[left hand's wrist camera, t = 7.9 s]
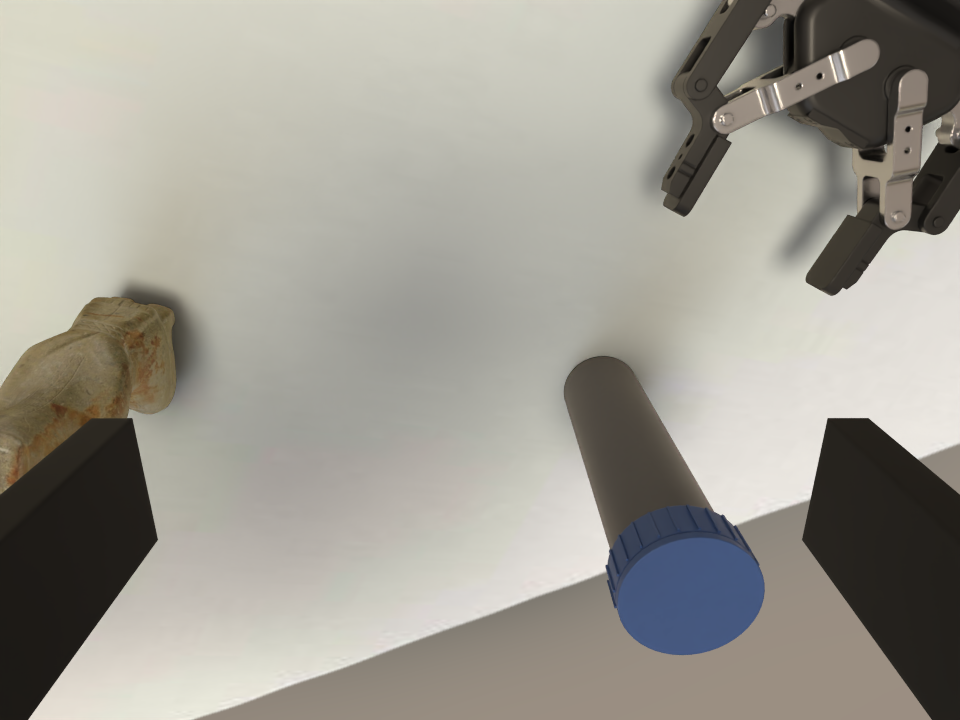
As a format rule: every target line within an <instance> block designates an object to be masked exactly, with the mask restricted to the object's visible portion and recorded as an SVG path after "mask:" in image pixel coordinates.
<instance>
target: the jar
mask: <svg viewBox="0 0 960 720" xmlns="http://www.w3.org/2000/svg"><path fill="white" fill-rule="evenodd" d="M564 398H565V402H566V405H567V409H568V412H569V415H570V419H571V422H572V425H573V428H574V432H575V435H576V438H577V442H578V445H579V448H580V451H581V455H582V458H583V461H584V465H585V468H586V471H587V474H588V478H589V481H590V484H591V488H592V491H593V494H594V497H595V501H596V504H597V507H598V511H599V514H600V517H601V520H602V524H603V527H604V530H605V534H606V537H607V540H608V544H609V547H610V549H612V547H613V545H614V543H615V541H616V540H617V538H618V537H617V536H618V535H620V534H621V533H622V532H623V531H624V530H625V528H627V527H628V526H629V525H630V524H631V522H632V521H633V522H634V521H635V520H637V519H638V518H640V517H641V516H643V515H645V514H647V513H648V512H652V511H655V510H657V509H661V508H665V507H666V506H669V507H671V506H678V505H679V506H680V505H689V506H696V507H701V508H705V507H706V508H708V509H709V510H711V511H713V509H712V507H711V506H710V504H709V502H708V500H707V499H706V497H705V495H704V494H703V492H702V490H701V488H700V487H699V485H698V483H697V481H696V480H695V478H694V476H693V475H692V473H691V471H690V469H689V468H688V466H687V464H686V463H685V461H684V459H683V457H682V456H681V454H680V452H679V450H678V449H677V447H676V445H675V444H674V442H673V440H672V438H671V437H670V435H669V433H668V431H667V430H666V428H665V426H664V425H663V423H662V421H661V419H660V418H659V416H658V414H657V413H656V411H655V409H654V407H653V406H652V404H651V402H650V400H649V399H648V397H647V395H646V394H645V392H644V390H643V388H642V387H641V385H640V383H639V381H638V380H637V378H636V376H635V375H634V373H633V371H632V370H631V369H630V367H629V366H627V365H626V364H625V363H624V362H622V361H620V360H618V359H615V358H611V357H595V358H591V359H588V360H586V361H584V362H582V363H580V364H579V365H578V366H577V367H575V368H574V369H573V371H572V372H571V373H570V375H569V376H568V378H567V380H566V383H565V387H564ZM713 512H714V511H713Z"/></svg>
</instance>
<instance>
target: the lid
mask: <svg viewBox="0 0 960 720" xmlns="http://www.w3.org/2000/svg"><path fill="white" fill-rule="evenodd" d="M617 537H618V538H617V540H616V541H615V543H614V545H613V547H612V549H610V550H609V553H610V555H609V559H608V565H606V570H607V574H608V578H609V580H607V582H608V586H609V590H610V593H611V597H612V600H613V604H614V608H617V610H618V614H619V617H620V620H621V622H622V624H623V626H624V628H625V629H626V630H627V632H628V633H629V634H630V635H631V636H632V637H633V638H634V639H635V640H637V641H638V642H639V643H641V644H642V645H644V646H646V647H648V648H650V649H652V650H655V651H658V652H662V653H666V654H673V655H692V654H698V653H703V652H707V651H711V650H713V649H716V648H719V647H721V646H723V645H725V644H727V643H729V642H730V641H732V640H734V639H735V638H737V637H738V636H739V635H740V634H742V633H743V632H744V631H745V630H746V629H747V628H748V627H749V626H750V625H751V623H752V622H753V621H754V619H755V618H756V616H757V615H758V613H759V611H760V608H761V606H762V603H763V599H764V591H765V590H764V579H763V575H762V572H761V570H760V568H759V563H758V561H757V560H756V558H755V556H754V555H753V553H752V551H751V549H750V547H749V546H748V544H747V543H746V541H745V539H744V538H743V536H742V534H741V533H740V531H739V530H738V528H737V526H736V525H735V526H733V525H732V524H731V523H730V522H729V521H728V520H727V519H726V518H725V516H724V515H719V514H717V513H715V512H713V511H711V510H709V509H708V508H706V507H705V508H701V507H696V506H689V505H680V506H679V505H678V506H671V507H669V506H666V507H665V508H661V509H657V510H655V511H652V512H648V513H647V514H645V515H643V516H641V517H640V518H638V519H637V520H635V521H634V522H633V521H632V522H631V524H630V525H629V526H628V527H627V528H625V530H624V531H623V532H622V533H621V534H620V535H618V536H617Z"/></svg>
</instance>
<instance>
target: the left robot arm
mask: <svg viewBox="0 0 960 720" xmlns="http://www.w3.org/2000/svg"><path fill="white" fill-rule="evenodd" d="M157 540H158V538H157V533H156V529H155V524H154V519H153V514H152V510H151V505H150V500H149V495H148V491H147V486H146V481H145V476H144V472H143V467H142V462H141V457H140V453H139V448H138V443H137V438H136V434H135V429H134V424H133V419H132V418H91V419H90V420H89V421H88V422H87V423H85V424H84V425H83V426H82V427H81V428H79V429H78V430H77V431H76V432H75V433H73V434H72V435H71V436H70V437H69V438H67V439H66V440H65V441H64V442H63V443H61V444H60V445H59V446H58V447H57V448H56V449H54V450H53V451H52V452H51V453H50V454H48V455H47V456H46V457H45V458H44V459H42V460H41V461H40V462H39V463H38V464H36V465H35V466H34V467H33V468H32V469H30V470H29V471H28V472H27V473H26V474H24V475H23V476H22V477H21V478H20V479H18V480H17V481H16V482H15V483H14V484H12V485H11V486H10V487H9V488H8V489H6V490H5V491H4V492H3V493H2V494H0V720H28V719H29V718H30V716H31V715H32V713H33V712H34V711H35V709H36V708H37V707H38V705H39V704H40V702H41V701H42V700H43V698H44V697H45V695H46V694H47V693H48V691H49V690H50V689H51V687H52V686H53V684H54V683H55V682H56V680H57V679H58V677H59V676H60V675H61V673H62V672H63V671H64V669H65V668H66V666H67V665H68V664H69V662H70V661H71V659H72V658H73V657H74V655H75V654H76V653H77V651H78V650H79V648H80V647H81V646H82V644H83V643H84V641H85V640H86V639H87V637H88V636H89V635H90V633H91V632H92V630H93V629H94V628H95V626H96V625H97V623H98V622H99V621H100V619H101V618H102V617H103V615H104V614H105V612H106V611H107V610H108V608H109V607H110V605H111V604H112V603H113V601H114V600H115V599H116V597H117V596H118V594H119V593H120V592H121V590H122V589H123V587H124V586H125V585H126V583H127V582H128V581H129V579H130V578H131V576H132V575H133V574H134V572H135V571H136V569H137V568H138V567H139V565H140V564H141V563H142V561H143V560H144V558H145V557H146V556H147V554H148V553H149V551H150V550H151V549H152V547H153V546H154V545H155V543H156V542H157ZM802 540H803V542H804V543H805V545H806V546H807V547H808V549H809V550H810V551H811V553H812V554H813V556H814V557H815V558H816V560H817V561H818V563H819V564H820V565H821V567H822V568H823V569H824V571H825V572H826V574H827V575H828V576H829V578H830V579H831V580H832V582H833V583H834V585H835V586H836V587H837V589H838V590H839V591H840V593H841V594H842V596H843V597H844V599H845V600H846V601H847V603H848V604H849V605H850V607H851V608H852V609H853V611H854V612H855V614H856V615H857V616H858V618H859V619H860V621H861V622H862V623H863V625H864V626H865V628H866V629H867V630H868V632H869V633H870V634H871V636H872V637H873V639H874V640H875V641H876V643H877V644H878V646H879V647H880V648H881V650H882V651H883V653H884V654H885V655H886V657H887V658H888V659H889V661H890V662H891V664H892V665H893V666H894V668H895V669H896V670H897V672H898V673H899V675H900V676H901V677H902V679H903V680H904V682H905V683H906V684H907V686H908V687H909V689H910V690H911V691H912V693H913V694H914V695H915V697H916V698H917V700H918V701H919V702H920V704H921V705H922V707H923V708H924V709H925V711H926V712H927V713H928V715H929V716H930V718H931V719H932V720H960V494H958V493H957V492H956V491H955V490H953V489H952V488H951V487H950V486H949V485H948V484H946V483H945V482H944V481H943V480H942V479H940V478H939V477H938V476H937V475H936V474H934V473H933V472H932V471H931V470H930V469H928V468H927V467H926V466H925V465H924V464H922V463H921V462H920V461H919V460H918V459H916V458H915V457H914V456H913V455H912V454H910V453H909V452H908V451H907V450H906V449H904V448H903V447H902V446H901V445H900V444H899V443H897V442H896V441H895V440H894V439H893V438H891V437H890V436H889V435H888V434H887V433H885V432H884V431H883V430H882V429H881V428H879V427H878V426H877V425H876V424H875V423H873V422H872V421H871V420H870V419H869V418H828V419H827V424H826V429H825V434H824V438H823V443H822V448H821V453H820V457H819V462H818V467H817V472H816V476H815V481H814V486H813V491H812V495H811V500H810V505H809V510H808V514H807V519H806V524H805V529H804V534H803V538H802Z"/></svg>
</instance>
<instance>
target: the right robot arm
mask: <svg viewBox="0 0 960 720" xmlns="http://www.w3.org/2000/svg"><path fill="white" fill-rule="evenodd" d="M778 17H784V18H785V20H784V26H783V65H781V66H779V67H777V68H775V69H773V70H771V71H769V72H767V73H765V74H763V75H761V76H759V77H757V78H755V79H753V80H751V81H749V82H747V83H745V84H743V85H741V86H740V87H739V88H738V89H736V90H734V91H732V92H730V93H728V94H726V95H723V94H722V93H721V91H720V90H719V89H718V87H717V84H718V83H719V81H720V80H721V78H722V76H723V75H724V73H725V72H726V70H727V69H728V67H729V66H730V64H731V63H732V61H733V60H734V58H735V56H736V55H737V53H738V52H739V50H740V49H741V47H742V46H743V44H744V43H745V41H746V40H747V38H748V37H749V35H750V33H751V32H752V30H758V29H762V28H766V27H768V26H770V25H771V24H772V23H773V22H774V21H775V20H776V19H777V18H778ZM671 91H672V93H673V95H674V96H675V97H676V98H677V99H680V100H681V101H682V103H683V104H684V105H685V107H686V108H687V109H688V110H689V112H690V113H691V115H692V120H693V124H692V128H691V131H690V133H689V134H688V136H687V138H686V140H685V141H684V143H683V145H682V146H681V148H680V150H679V152H678V153H677V155H676V157H675V159H674V160H673V162H672V164H671V165H670V168H669V169H668V171H667V172H666V174H665V176H664V178H663V182H662V188H661V190H663V191H665V192H667V193H668V194H667V195H666V197H665V199H664V203H663V205H664V206H665V207H666V208H668V209H670V210H672V211H674V212H676V213H677V214H679V215H681V216H683V217H685V216H686V215H688V214H689V212H690V211H691V210H692V208H693V206H694V205H695V203H696V201H697V200H698V198H699V196H700V195H701V193H702V192H703V190H704V188H705V187H706V185H707V183H708V182H709V180H710V178H711V177H712V175H713V173H714V172H715V170H716V168H717V167H718V165H719V163H720V162H721V160H722V158H723V157H724V155H725V153H726V152H727V150H728V148H729V147H730V145H731V142H730V141H728V140H726V138H727V137H728V135H729V133H731V132H733V131H735V130H737V129H739V128H742V127H744V126H746V125H748V124H750V123H752V122H754V121H756V120H758V119H760V118H762V117H764V116H766V115H769V114H772V113H776V112H779V111H781V110H784V109H786V108H787V109H788V111H789V114H788V116H789V117H791V118H793V119H794V120H796V121H798V122H799V123H802V124H806V125H811V126H815V127H818V128H819V130H820V131H821V132H822V133H823V134H824V135H825V136H826V137H827V138H828V139H829V140H831V141H832V142H834V143H836V144H837V145H839V146H841V147H848V148H852V167H853V171H854V173H855V174H856V175H857V215H856V217H853V216H850V215H847V216H846V218H845V219H844V221H843V222H842V224H841V225H840V227H839V228H838V230H837V231H836V233H835V234H834V235H833V237H832V238H831V240H830V241H829V243H828V244H827V246H826V247H825V249H824V250H823V251H822V253H821V254H820V256H819V257H818V259H817V260H816V262H815V263H814V265H813V266H812V267H811V269H810V270H809V272H808V273H807V276H806V282H807V283H808V284H810V285H812V286H814V287H815V288H817V289H819V290H821V291H823V292H825V293H827V294H828V295H830V296H833V295H836V294H837V293H838V292H839V291H840V290H841V289H842V288H845V289H848V288H849V287H851V286H852V285H854V284H855V283H856V282H857V281H858V279H859V278H860V277H861V275H862V274H863V271H865V270H866V268H867V267H868V266H869V263H871V261H872V260H873V259H874V257H875V256H876V254H877V253H878V252H879V250H880V249H881V247H882V246H883V245H884V243H885V242H886V240H887V239H888V238H889V237H890V236H891V235H892V234H894V233H895V232H897V231H901V230H909V231H918V232H925V233H928V234H931V235H937V234H940V233H942V232H944V231H945V230H946V229H947V228H948V226H949V225H950V223H951V222H952V220H953V219H954V217H955V216H956V214H957V213H958V211H959V210H960V0H723V1H722V2H721V4H720V6H719V7H718V9H717V10H716V12H715V14H714V15H713V17H712V18H711V20H710V22H709V23H708V25H707V26H706V28H705V30H704V31H703V33H702V34H701V36H700V38H699V39H698V41H697V42H696V44H695V46H694V47H693V49H692V50H691V52H690V53H689V55H688V57H687V58H686V60H685V61H684V63H683V65H682V66H681V68H680V69H679V71H678V73H677V74H676V76H675V77H674V79H673V81H672V84H671ZM939 117H941V118H942V123H941V127H940V128H938V129H937V130H936V133H935V134H936V137H937V138H938V144H937V145H936V147H935V148H934V150H933V152H932V153H931V155H930V156H929V158H928V159H927V161H926V162H925V164H924V166H923V167H922V169H921V170H920V166H921V145H922V126H923V125H925V124H927V123H929V122H931V121H933V120H935V119H937V118H939ZM885 144H887V153H886V152H885V149H884V145H885ZM919 171H920V172H919ZM917 174H918V175H917ZM916 175H917V177H916V178H915V180H914V181H913V178H914V177H915V176H916Z"/></svg>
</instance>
